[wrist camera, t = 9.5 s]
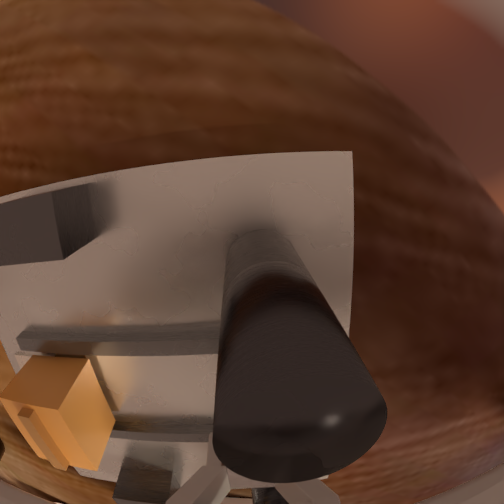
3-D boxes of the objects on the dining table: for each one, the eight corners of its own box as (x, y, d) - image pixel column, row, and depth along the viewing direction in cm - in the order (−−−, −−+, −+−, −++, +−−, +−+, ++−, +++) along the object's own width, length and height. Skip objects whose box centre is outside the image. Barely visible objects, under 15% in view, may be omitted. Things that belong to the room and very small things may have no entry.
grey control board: (330, 151, 15) (532, 160, 3) (320, 450, 21) (353, 575, 10) (-6, 199, 14) (-156, 257, 3) (89, 451, 21) (53, 556, 9)
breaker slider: (89, 358, 14) (52, 419, 9) (115, 420, 15) (94, 479, 11) (32, 354, 14) (-8, 404, 9) (61, 413, 15) (35, 464, 11)
